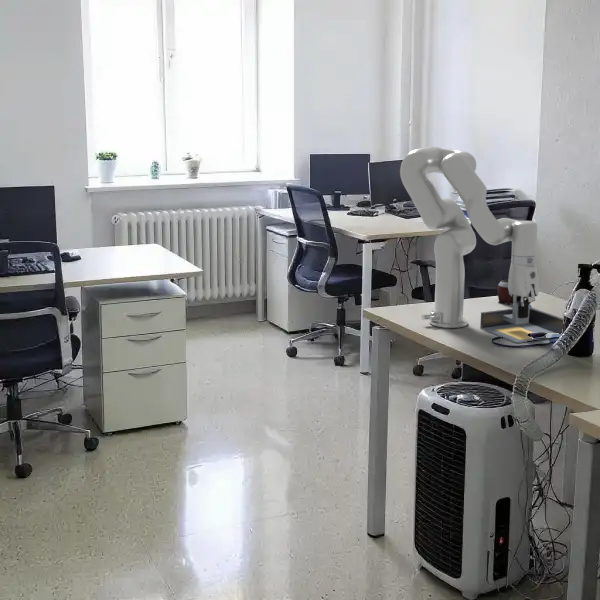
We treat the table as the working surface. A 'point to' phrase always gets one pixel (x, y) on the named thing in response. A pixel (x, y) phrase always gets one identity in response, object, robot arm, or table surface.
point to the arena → (519, 332)
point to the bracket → (516, 315)
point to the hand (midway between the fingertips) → (521, 316)
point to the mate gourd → (504, 293)
